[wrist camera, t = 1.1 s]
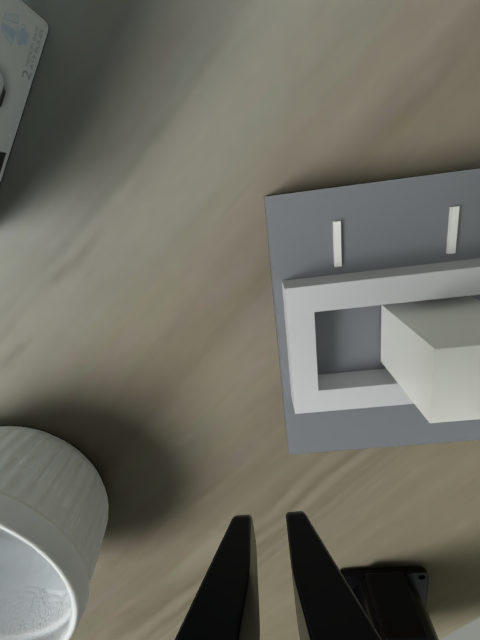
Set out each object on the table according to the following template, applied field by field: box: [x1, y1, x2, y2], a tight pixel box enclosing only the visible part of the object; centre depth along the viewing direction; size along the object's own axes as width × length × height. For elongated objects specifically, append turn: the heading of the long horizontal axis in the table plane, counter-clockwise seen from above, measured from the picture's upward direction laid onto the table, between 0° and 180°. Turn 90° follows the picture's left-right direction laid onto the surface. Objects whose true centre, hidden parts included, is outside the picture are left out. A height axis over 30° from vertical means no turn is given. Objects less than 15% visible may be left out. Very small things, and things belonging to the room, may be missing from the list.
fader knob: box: [381, 296, 480, 423], centre depth 14 cm, size 3×4×5 cm
